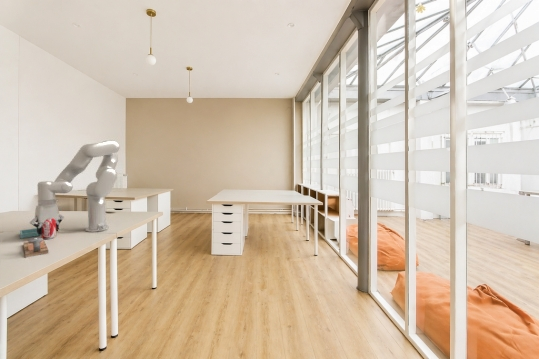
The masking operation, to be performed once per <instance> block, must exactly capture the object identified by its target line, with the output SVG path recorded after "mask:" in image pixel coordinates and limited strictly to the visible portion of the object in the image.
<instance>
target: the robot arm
mask: <svg viewBox="0 0 539 359" xmlns="http://www.w3.org/2000/svg"><path fill="white" fill-rule="evenodd" d="M120 147H121V146H120V144H119V142H118V141H115V140H111V139H110V140H103V141H101V142H95V143H85V144H83V145H82V146H81V147H80V148H79V150H78V151H77V153H76V154H75V155H74V157H73V158H72V159H71V160H70V161H69V163H68V164H67V165H66V166H65V168H64V169H62V171H61V172H60V173H59V174H58V176H57V177H56V178H55V180H54V181H51V180H50V181H48V180H46V181H45V180H43V181H38V182H37V204H38V205H36V206H35V211H34V218H33V219H32V220H30V221H29V224H30V225H32V226H33V227H35V228H37V233H38V234H39V235H42V228H41V226H42V224H43V223H44V222H45V221H46V220H47V219H50V218H53V219H55V220H56V232H59V230H60V229H59V228H60V223H61V222H62V221H63V220H64V219H65V216H63V215H62V214H60V211H59V206H58V204H57V202H59V199H56V194H67V193H70V192H71V191H72V190H73V187H74V186H73V183H72V182H73V180H74V179H75V178H76V177H77V176H78V175H80V174H81V173H82V174H83V172H84V171H85V170H86V169H87V168H88V166H89V165H90V163H91V162H92V160H93V158H99V157H102V160H101V163H100V165H99V166H98V168H97V170H96V172H95V178H96V179H97V180H96V181H94V182H90V183H89V184H87V186H86V190H85V191H86V198H87V217H88V218H87V220H88V221H87V222H88V223H87V224H88V227H86V228H85V232H88V233H89V232H90V233H91V232H92V233H94V232H97V233H98V232H102V231H106V230H108V229H109V225H108V224H107V222H106V221H107V218H106V217H107V216H106V215H107V214H106V199H105V198H106V197H107V196H109V194H110V193H111V191H112V189H113V187H114V185H115V183H116V181H117V179H118V173H117V170H116V167H117V165H118V164H117V163H118V162H119V156H118V154H117V153H118V152H119V151H120Z"/></svg>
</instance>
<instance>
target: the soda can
mask: <svg viewBox="0 0 539 359" xmlns="http://www.w3.org/2000/svg"><path fill="white" fill-rule="evenodd" d="M41 228H42V235H40V236H39V237H40V238H43V239H44V240H52V239H54V238H56V237H57V231H56V220H55V219H53V218H50V219H47V220H46V221H45V222H44V223H43V224H42V226H41Z"/></svg>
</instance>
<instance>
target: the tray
mask: <svg viewBox="0 0 539 359" xmlns="http://www.w3.org/2000/svg"><path fill="white" fill-rule="evenodd" d="M19 237H20V239H21V240H23V239H28V238H37V237H41V236H40V235H39V234H38V233H37V228H36V227H35V228H28V229H21V230H19Z"/></svg>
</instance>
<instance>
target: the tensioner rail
mask: <svg viewBox="0 0 539 359" xmlns="http://www.w3.org/2000/svg"><path fill="white" fill-rule="evenodd" d="M43 241H44V248H41V249H40V241H39V240H38V241H33V250H28V241H25V242H22V243H23V250H24V254H25V258H29V257H30V258H31V257H36V256H39V255H40V256H41V255H46V254H47V255H48V254H49V249H48V246H47V244H46V241H45V239H43Z"/></svg>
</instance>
